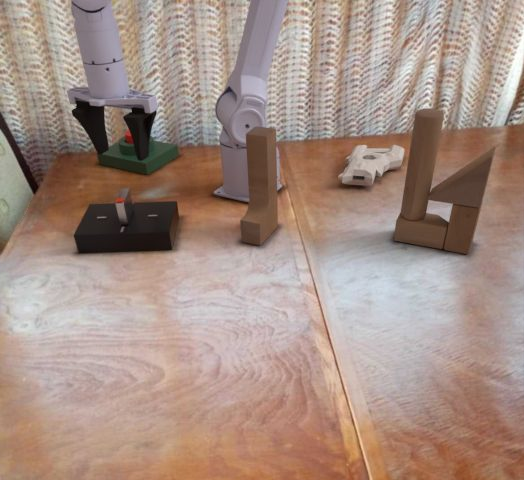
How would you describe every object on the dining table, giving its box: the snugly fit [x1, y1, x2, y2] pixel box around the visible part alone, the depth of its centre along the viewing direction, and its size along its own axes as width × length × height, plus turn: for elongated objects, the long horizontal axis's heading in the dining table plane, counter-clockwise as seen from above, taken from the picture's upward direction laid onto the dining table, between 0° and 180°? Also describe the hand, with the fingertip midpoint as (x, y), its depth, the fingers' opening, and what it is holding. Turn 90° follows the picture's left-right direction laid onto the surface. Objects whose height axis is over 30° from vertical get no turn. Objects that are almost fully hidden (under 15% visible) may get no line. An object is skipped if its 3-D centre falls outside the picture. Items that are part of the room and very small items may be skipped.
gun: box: [338, 144, 406, 187], centre depth 97 cm, size 18×3×10 cm
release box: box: [96, 135, 180, 176], centre depth 105 cm, size 12×10×4 cm
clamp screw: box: [114, 187, 134, 225], centre depth 80 cm, size 5×1×4 cm, turn 0°
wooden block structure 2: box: [393, 107, 497, 255], centre depth 73 cm, size 4×11×18 cm, turn 66°
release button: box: [124, 130, 134, 144], centre depth 103 cm, size 4×4×2 cm
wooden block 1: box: [239, 126, 279, 246], centre depth 78 cm, size 7×3×15 cm, turn 155°
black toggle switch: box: [73, 200, 180, 254], centre depth 83 cm, size 14×10×3 cm
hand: (123, 155), depth 85 cm, fingers open, 7 cm apart
